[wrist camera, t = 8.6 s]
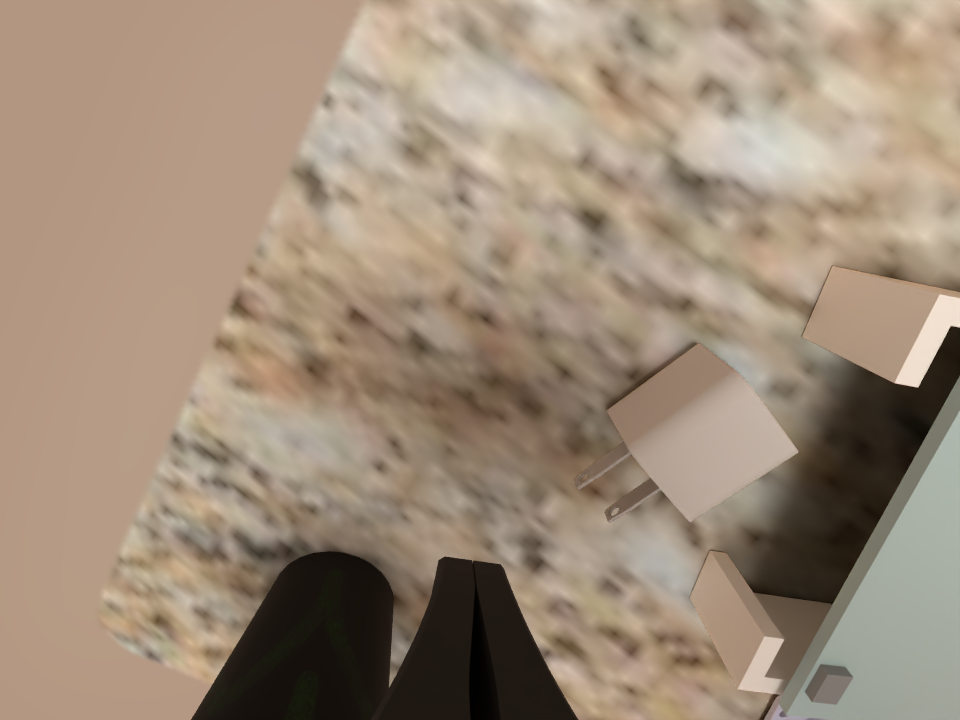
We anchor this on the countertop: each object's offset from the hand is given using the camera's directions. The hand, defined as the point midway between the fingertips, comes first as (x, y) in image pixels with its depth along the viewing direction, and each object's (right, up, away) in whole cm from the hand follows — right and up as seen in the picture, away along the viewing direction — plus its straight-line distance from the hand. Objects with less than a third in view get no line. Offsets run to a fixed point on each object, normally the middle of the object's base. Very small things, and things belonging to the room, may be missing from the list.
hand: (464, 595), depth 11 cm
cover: (+17, -1, +6) cm, 18 cm away
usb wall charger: (+7, +3, +10) cm, 13 cm away
